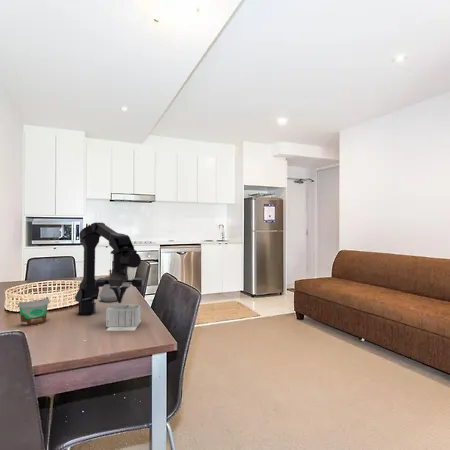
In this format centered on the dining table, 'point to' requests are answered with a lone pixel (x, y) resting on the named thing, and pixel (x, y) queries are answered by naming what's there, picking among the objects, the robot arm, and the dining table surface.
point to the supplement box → (122, 315)
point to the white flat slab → (123, 328)
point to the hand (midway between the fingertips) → (119, 302)
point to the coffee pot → (108, 292)
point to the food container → (33, 312)
